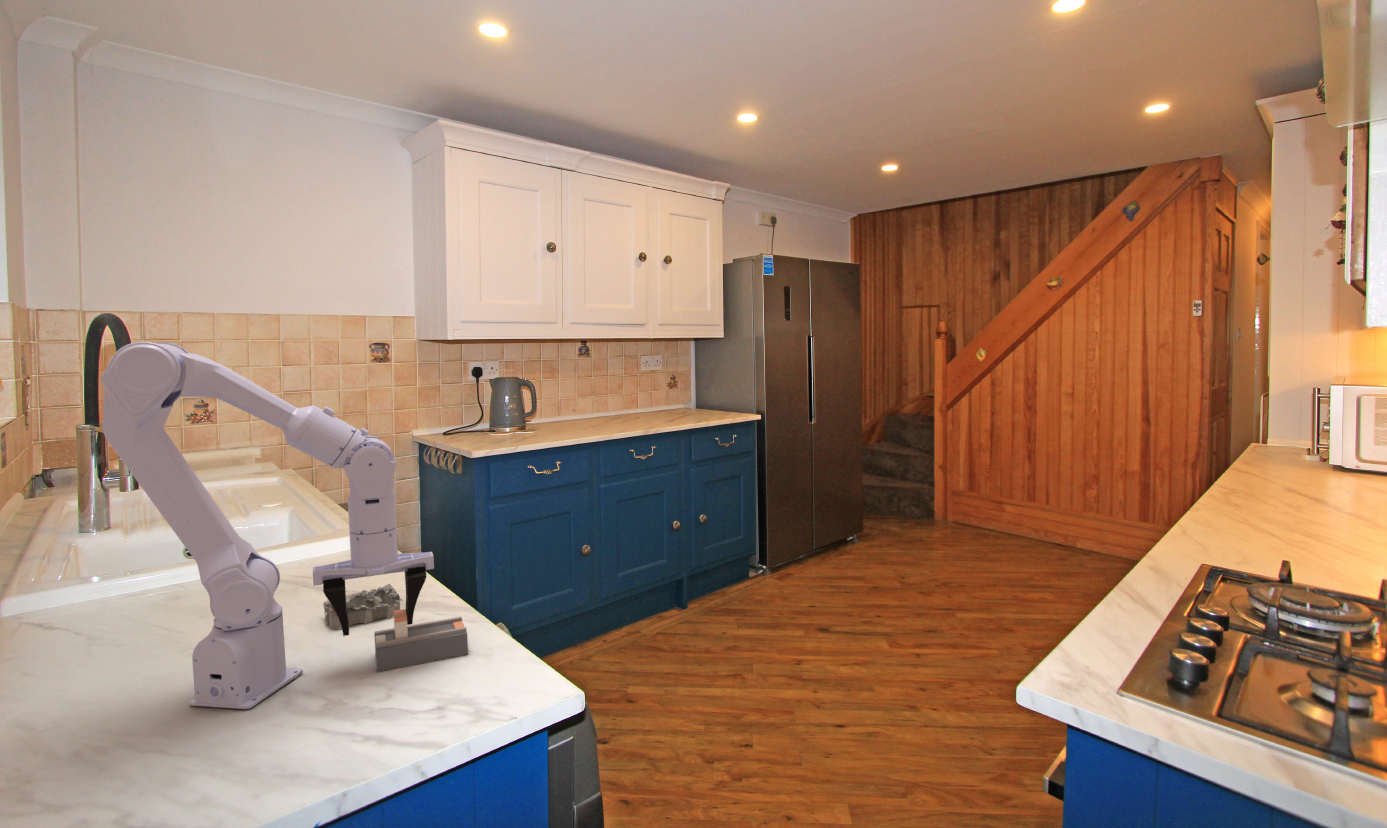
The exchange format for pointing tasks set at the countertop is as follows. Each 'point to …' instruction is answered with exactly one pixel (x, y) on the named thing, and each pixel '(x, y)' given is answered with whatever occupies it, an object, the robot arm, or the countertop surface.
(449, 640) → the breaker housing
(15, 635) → the countertop surface
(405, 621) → the breaker handle
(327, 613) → the egg carton
